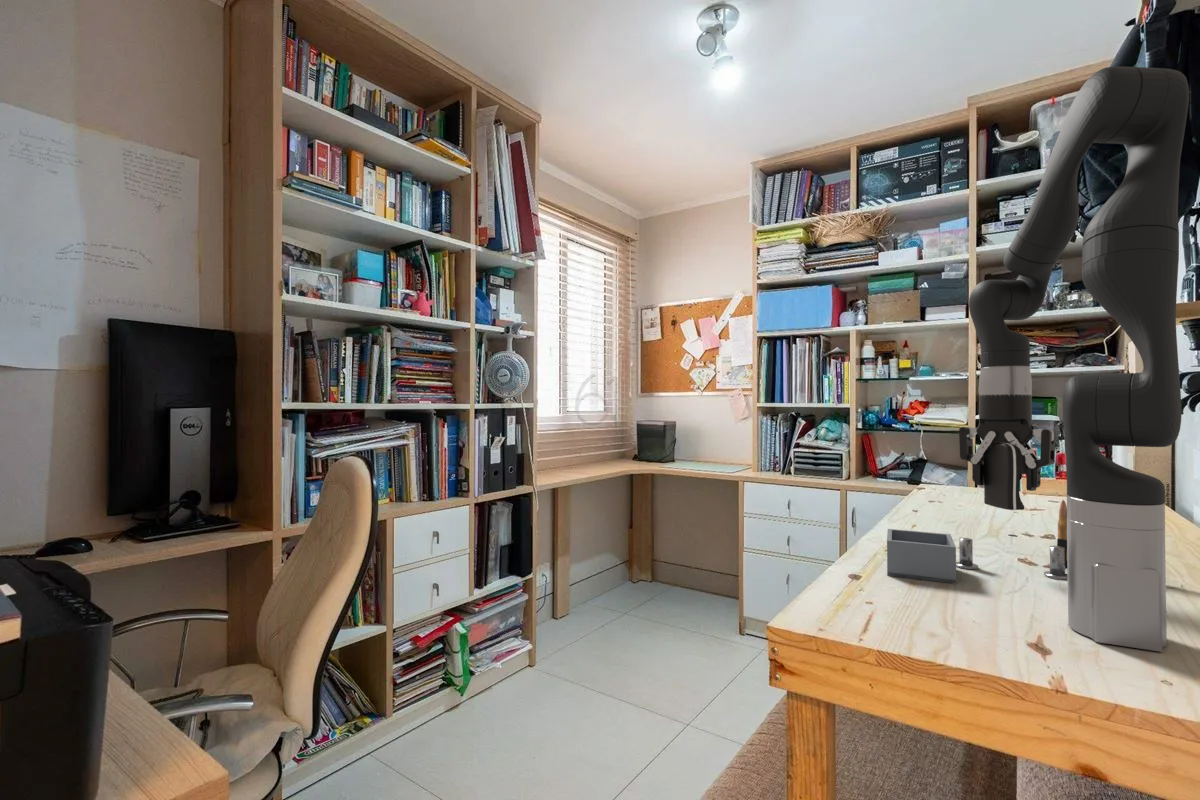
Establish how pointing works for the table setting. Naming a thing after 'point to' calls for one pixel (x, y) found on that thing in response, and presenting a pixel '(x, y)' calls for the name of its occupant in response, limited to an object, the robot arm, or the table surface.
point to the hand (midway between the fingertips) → (1005, 487)
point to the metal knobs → (1055, 572)
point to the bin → (921, 555)
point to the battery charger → (1003, 476)
